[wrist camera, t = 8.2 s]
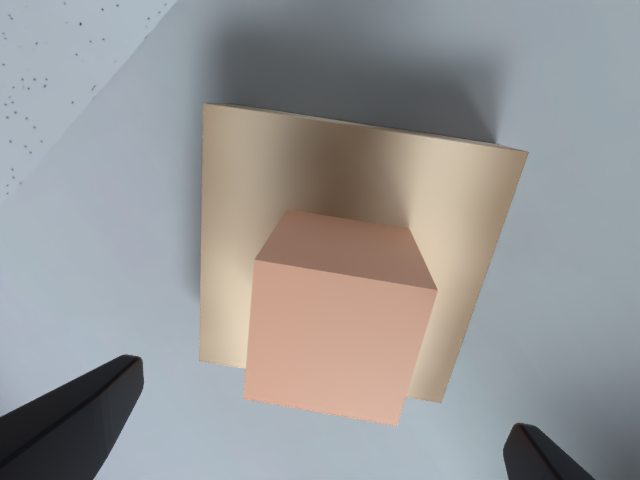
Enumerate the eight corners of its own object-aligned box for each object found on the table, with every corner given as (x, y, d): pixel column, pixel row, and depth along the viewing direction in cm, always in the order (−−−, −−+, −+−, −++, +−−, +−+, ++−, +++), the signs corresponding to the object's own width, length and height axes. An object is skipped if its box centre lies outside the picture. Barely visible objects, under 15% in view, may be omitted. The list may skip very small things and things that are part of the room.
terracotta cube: (409, 228, 14) (438, 290, 9) (383, 332, 16) (397, 426, 11) (286, 209, 14) (254, 259, 10) (275, 313, 16) (243, 398, 11)
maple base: (496, 143, 15) (528, 152, 13) (428, 361, 20) (441, 403, 17) (229, 103, 16) (203, 103, 13) (220, 325, 20) (199, 360, 17)
